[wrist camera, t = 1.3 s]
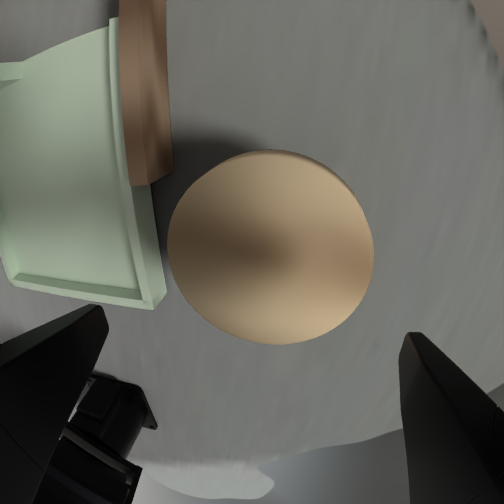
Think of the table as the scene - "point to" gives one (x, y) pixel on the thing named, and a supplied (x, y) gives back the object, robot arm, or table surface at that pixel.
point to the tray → (74, 179)
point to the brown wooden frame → (145, 90)
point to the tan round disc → (271, 247)
